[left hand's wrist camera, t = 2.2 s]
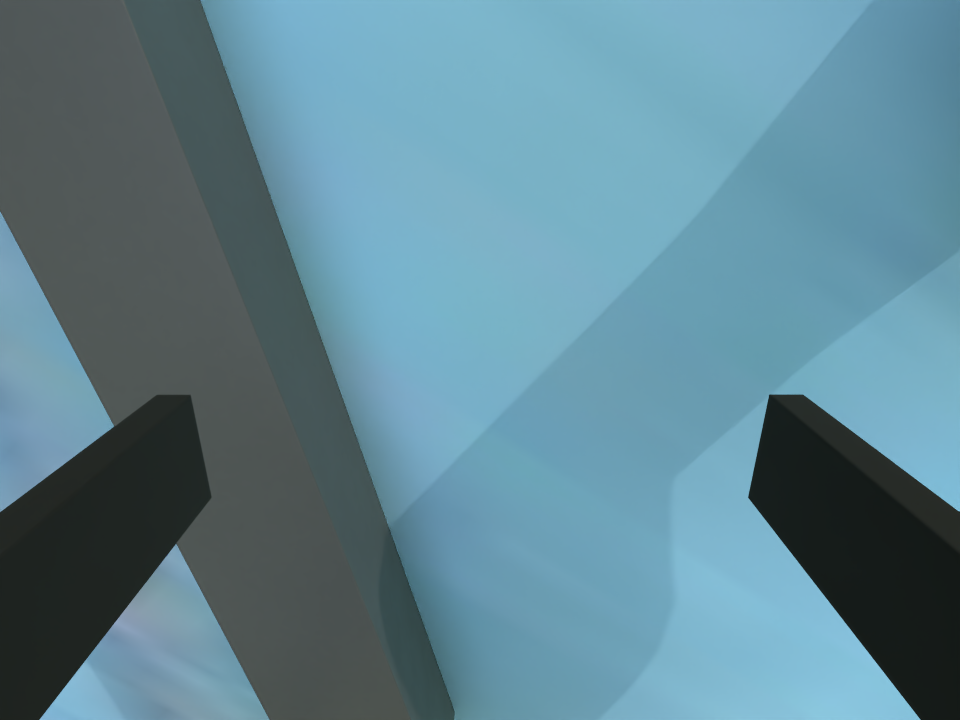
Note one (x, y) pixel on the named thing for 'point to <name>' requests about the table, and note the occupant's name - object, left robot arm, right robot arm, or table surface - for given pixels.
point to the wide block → (208, 342)
